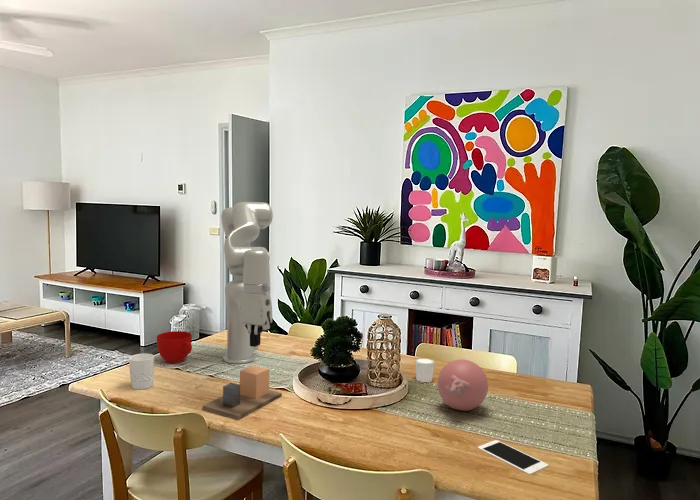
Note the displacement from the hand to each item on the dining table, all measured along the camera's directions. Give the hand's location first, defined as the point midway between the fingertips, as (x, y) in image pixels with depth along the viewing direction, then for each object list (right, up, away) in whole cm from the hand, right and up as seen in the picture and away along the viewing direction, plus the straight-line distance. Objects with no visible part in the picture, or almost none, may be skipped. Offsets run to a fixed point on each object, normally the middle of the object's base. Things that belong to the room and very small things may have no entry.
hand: (255, 345), depth 165 cm
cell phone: (+71, -23, -33) cm, 82 cm away
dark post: (-6, -18, -8) cm, 20 cm away
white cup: (-40, -16, +9) cm, 43 cm away
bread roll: (+25, -18, +2) cm, 31 cm away
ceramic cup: (-37, -13, +36) cm, 53 cm away
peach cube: (0, -16, +2) cm, 16 cm away
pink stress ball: (+64, -19, -5) cm, 67 cm away
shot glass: (+57, -17, +22) cm, 63 cm away
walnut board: (-3, -17, -3) cm, 18 cm away
